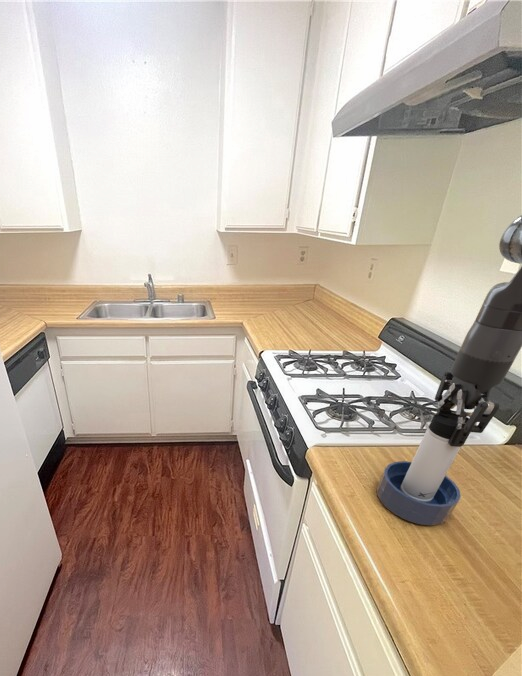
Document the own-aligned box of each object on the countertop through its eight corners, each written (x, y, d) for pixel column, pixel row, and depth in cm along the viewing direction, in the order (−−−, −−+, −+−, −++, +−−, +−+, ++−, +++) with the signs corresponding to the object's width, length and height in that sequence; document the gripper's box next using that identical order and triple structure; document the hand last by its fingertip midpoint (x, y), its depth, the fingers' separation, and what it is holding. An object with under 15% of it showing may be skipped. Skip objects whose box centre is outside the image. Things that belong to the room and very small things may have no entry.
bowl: (430, 484, 82) (441, 464, 78) (460, 531, 70) (474, 510, 67) (368, 478, 83) (376, 458, 80) (387, 522, 71) (397, 501, 68)
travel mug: (424, 510, 71) (468, 430, 60) (393, 492, 76) (429, 414, 65) (438, 498, 75) (482, 419, 63) (407, 481, 79) (444, 405, 68)
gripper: (542, 370, 51) (487, 459, 60) (487, 339, 63) (448, 417, 72) (487, 366, 52) (441, 455, 61) (443, 336, 64) (411, 414, 73)
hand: (445, 434), depth 66 cm, fingers closed on travel mug, 6 cm apart
